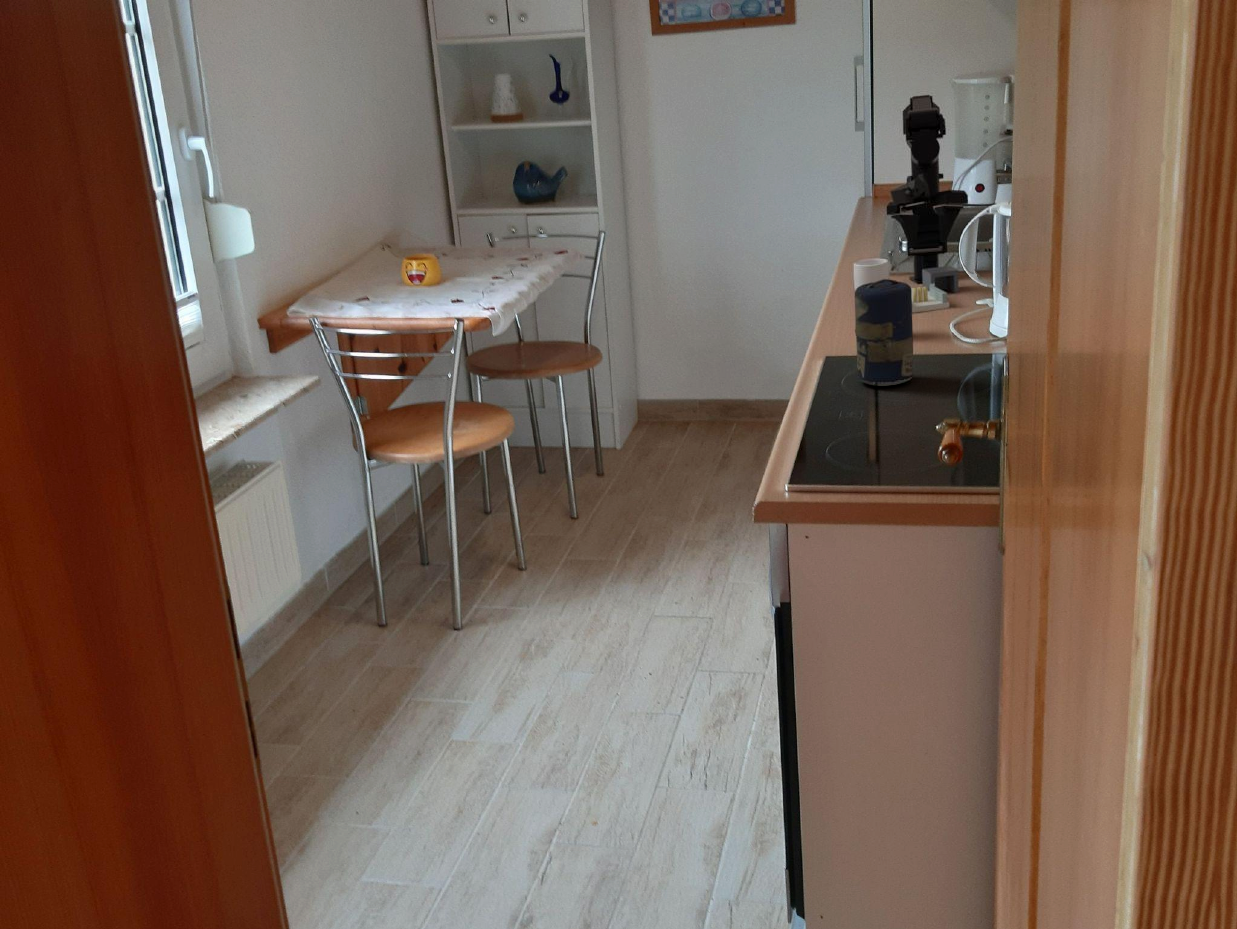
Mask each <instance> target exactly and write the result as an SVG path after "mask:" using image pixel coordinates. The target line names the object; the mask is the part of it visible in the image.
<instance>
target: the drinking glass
mask: <svg viewBox="0 0 1237 929" xmlns="http://www.w3.org/2000/svg"><path fill="white" fill-rule="evenodd" d="M889 264H890V262H889V260H888V259H886V258H868V259H860V260H857V261H855V262H854V263H853V284H854V285H853V286H854V292H855V291H856V289H857V288H858V287H859V286H861V285H864V284H867V283H872V282H877V281H880V280H882V279H890V280H891V278H890V265H889Z"/></svg>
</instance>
